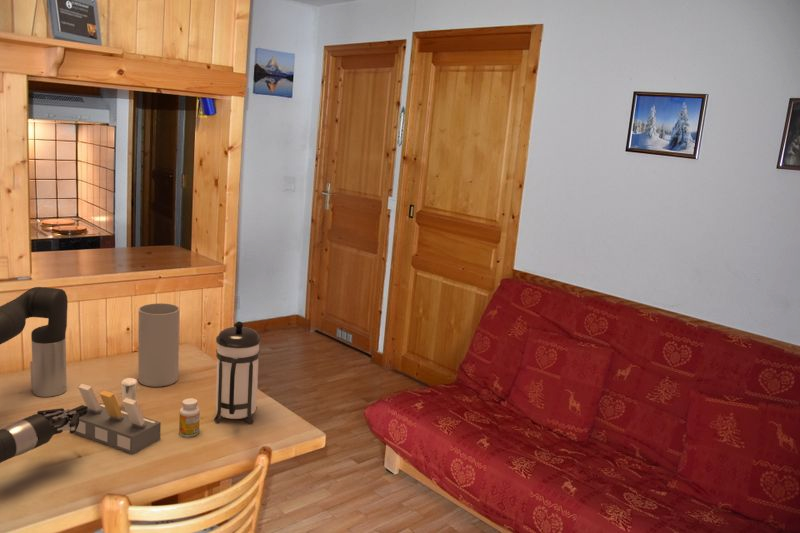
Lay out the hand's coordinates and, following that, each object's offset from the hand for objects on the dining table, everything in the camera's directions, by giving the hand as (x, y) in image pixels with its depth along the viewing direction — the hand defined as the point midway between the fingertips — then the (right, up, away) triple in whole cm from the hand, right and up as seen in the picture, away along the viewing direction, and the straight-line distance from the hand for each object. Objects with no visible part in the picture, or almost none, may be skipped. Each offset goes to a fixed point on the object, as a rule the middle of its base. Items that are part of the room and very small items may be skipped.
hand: (85, 409), depth 169 cm
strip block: (+3, -10, +11) cm, 15 cm away
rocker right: (+11, -6, +7) cm, 14 cm away
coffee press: (+32, -9, +28) cm, 44 cm away
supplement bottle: (+21, -11, +17) cm, 29 cm away
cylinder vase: (0, -1, +50) cm, 50 cm away
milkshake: (0, -6, +29) cm, 29 cm away
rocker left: (-4, -3, +13) cm, 14 cm away
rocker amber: (+3, -4, +10) cm, 12 cm away
